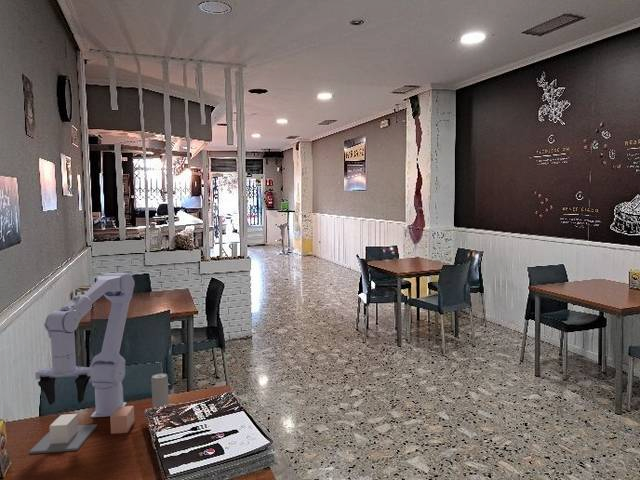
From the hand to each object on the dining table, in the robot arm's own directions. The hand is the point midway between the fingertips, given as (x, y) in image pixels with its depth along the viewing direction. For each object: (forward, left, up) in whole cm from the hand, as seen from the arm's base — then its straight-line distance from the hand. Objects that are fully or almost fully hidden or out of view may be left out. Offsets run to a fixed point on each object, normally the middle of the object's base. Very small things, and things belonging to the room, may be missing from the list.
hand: (66, 402), depth 128 cm
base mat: (0, -1, -10) cm, 10 cm away
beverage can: (-13, +22, -11) cm, 28 cm away
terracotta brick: (-5, +13, -10) cm, 18 cm away
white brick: (0, -1, -10) cm, 10 cm away
